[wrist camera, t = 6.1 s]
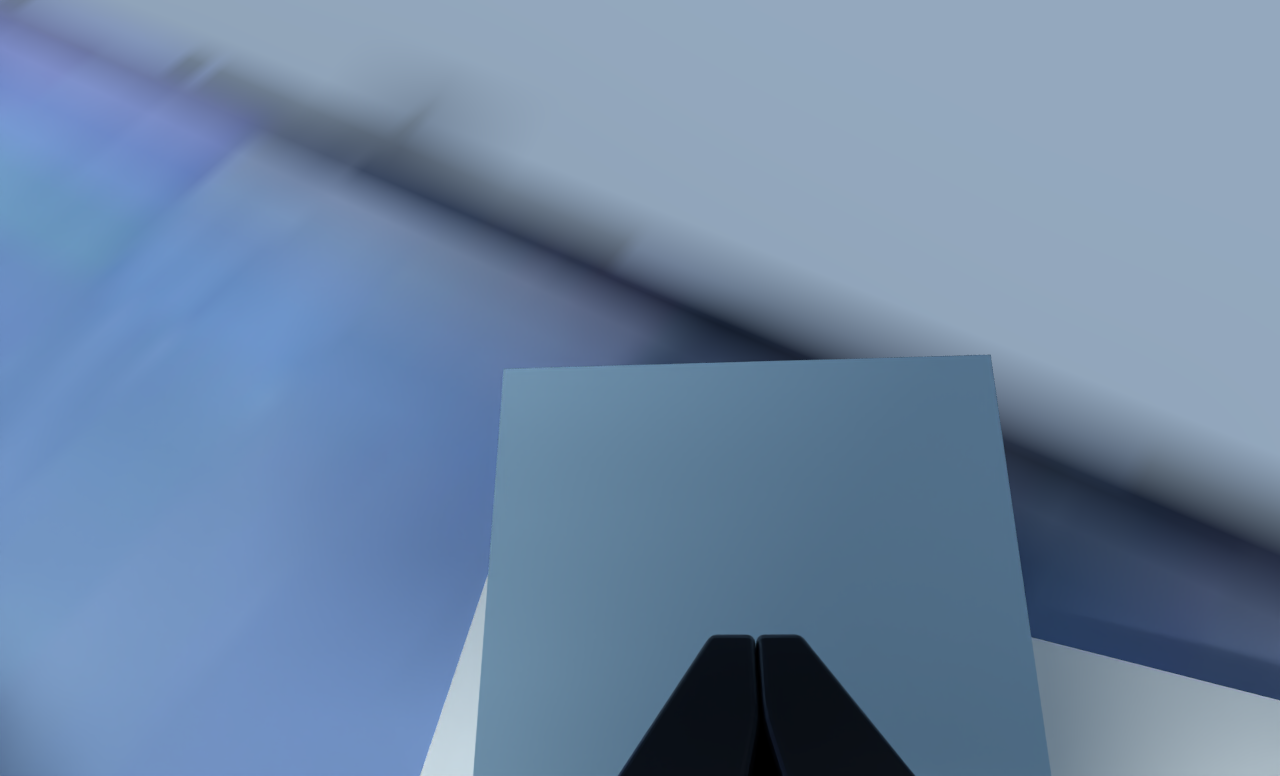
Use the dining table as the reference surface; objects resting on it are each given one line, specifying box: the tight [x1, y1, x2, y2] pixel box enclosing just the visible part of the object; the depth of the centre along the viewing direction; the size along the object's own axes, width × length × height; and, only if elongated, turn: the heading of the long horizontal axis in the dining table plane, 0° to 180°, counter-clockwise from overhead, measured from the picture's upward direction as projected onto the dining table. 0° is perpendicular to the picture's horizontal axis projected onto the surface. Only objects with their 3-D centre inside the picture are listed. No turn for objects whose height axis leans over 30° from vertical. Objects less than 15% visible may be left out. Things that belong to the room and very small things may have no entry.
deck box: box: [473, 355, 1051, 776], centre depth 13 cm, size 3×7×8 cm
